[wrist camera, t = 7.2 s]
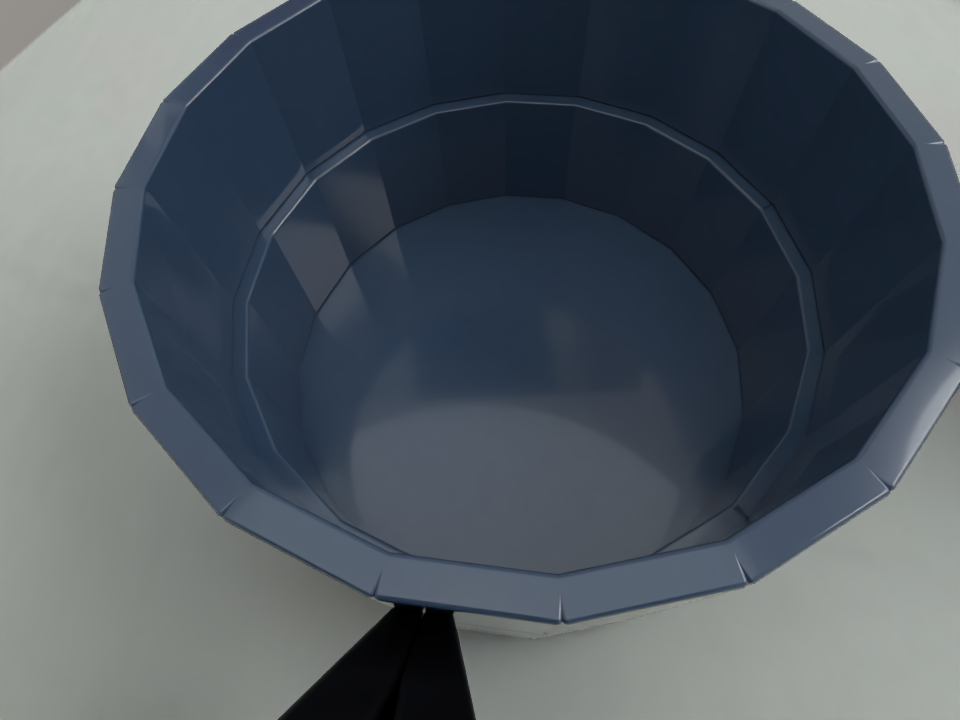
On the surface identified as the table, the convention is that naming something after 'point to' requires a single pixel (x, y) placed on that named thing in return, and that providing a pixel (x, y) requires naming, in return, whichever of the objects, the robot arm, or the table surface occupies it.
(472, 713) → the robot arm
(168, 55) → the table surface
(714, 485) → the bowl
